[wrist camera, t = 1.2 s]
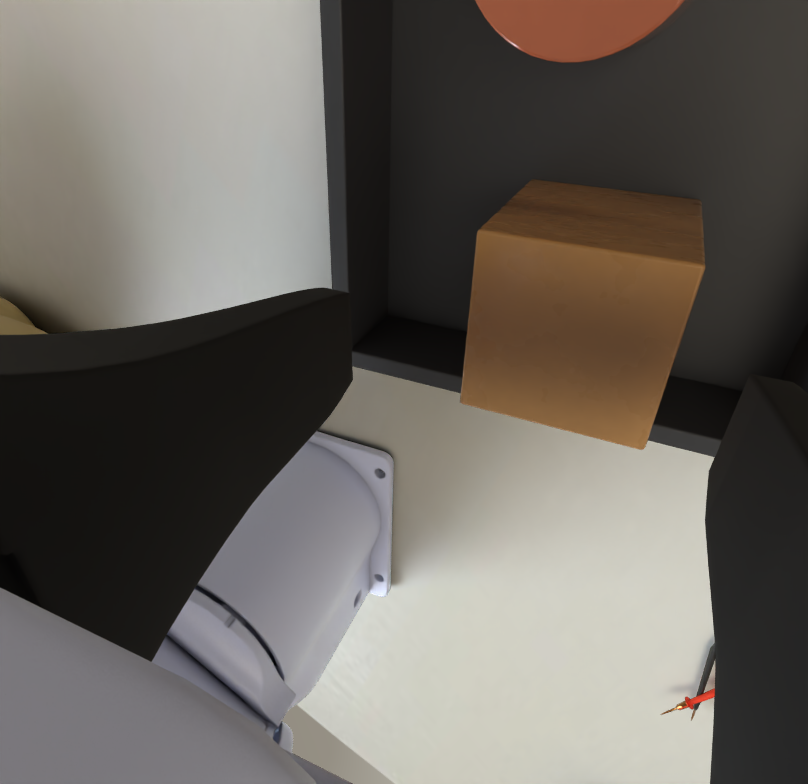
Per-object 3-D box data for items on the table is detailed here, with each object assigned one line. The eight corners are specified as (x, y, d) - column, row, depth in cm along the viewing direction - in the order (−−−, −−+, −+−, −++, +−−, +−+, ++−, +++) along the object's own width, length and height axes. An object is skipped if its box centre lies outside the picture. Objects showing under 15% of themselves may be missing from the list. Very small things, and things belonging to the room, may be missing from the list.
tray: (784, 409, 17) (801, 479, 15) (379, 320, 22) (334, 362, 19) (1143, -331, 9) (1328, -478, 7) (382, -240, 14) (305, -307, 11)
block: (655, 351, 18) (643, 452, 13) (509, 321, 19) (458, 404, 15) (702, 199, 15) (706, 265, 11) (530, 178, 17) (476, 229, 12)
